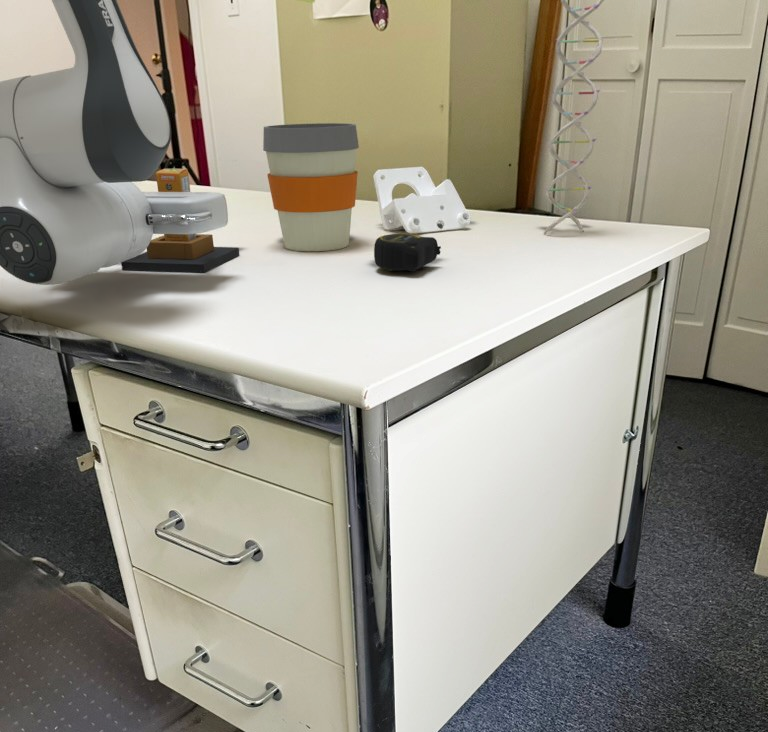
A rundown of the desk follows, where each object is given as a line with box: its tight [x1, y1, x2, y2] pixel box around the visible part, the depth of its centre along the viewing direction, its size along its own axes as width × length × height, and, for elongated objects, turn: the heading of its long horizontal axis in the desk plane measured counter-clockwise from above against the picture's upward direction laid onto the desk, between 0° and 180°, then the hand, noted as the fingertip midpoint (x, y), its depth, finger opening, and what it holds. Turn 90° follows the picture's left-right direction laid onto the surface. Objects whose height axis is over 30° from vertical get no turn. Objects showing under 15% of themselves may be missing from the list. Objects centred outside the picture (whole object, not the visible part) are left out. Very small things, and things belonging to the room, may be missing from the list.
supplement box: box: [155, 168, 196, 242], centre depth 100 cm, size 3×3×10 cm
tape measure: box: [373, 233, 442, 273], centre depth 95 cm, size 7×7×4 cm
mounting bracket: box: [372, 166, 472, 235], centre depth 120 cm, size 12×6×11 cm, turn 116°
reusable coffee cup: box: [262, 122, 360, 252], centre depth 108 cm, size 13×13×15 cm
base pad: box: [120, 233, 240, 274], centre depth 102 cm, size 11×11×3 cm
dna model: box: [543, 0, 605, 235], centre depth 109 cm, size 7×6×30 cm
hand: (168, 202), depth 98 cm, fingers open, 8 cm apart
